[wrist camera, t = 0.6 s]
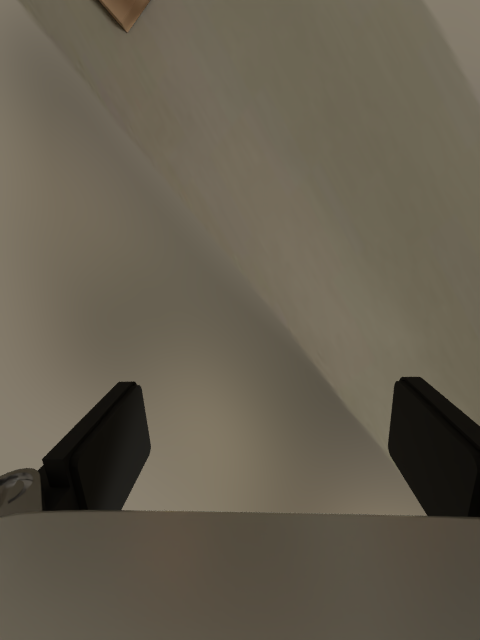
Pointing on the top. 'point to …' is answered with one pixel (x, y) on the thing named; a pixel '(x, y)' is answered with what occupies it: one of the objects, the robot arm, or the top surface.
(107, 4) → the wooden block
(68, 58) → the top surface
